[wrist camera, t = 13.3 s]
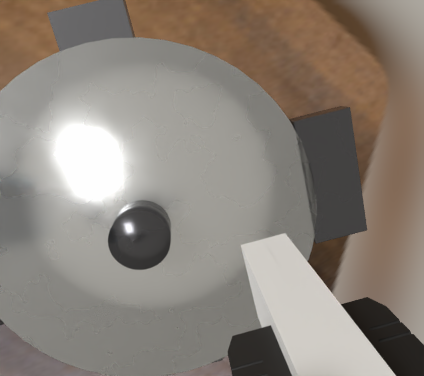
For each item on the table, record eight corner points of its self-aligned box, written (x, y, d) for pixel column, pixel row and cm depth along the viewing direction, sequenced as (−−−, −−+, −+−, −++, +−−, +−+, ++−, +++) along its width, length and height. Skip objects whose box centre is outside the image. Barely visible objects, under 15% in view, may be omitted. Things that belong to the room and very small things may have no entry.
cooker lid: (29, 395, 25) (4, 446, 21) (-108, 95, 20) (-169, 97, 16) (367, 305, 25) (397, 340, 22) (320, -10, 20) (350, -31, 17)
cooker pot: (98, 312, 37) (61, 416, 25) (4, 58, 31) (-102, 42, 19) (280, 264, 37) (327, 346, 26) (225, 4, 31) (254, -45, 19)
